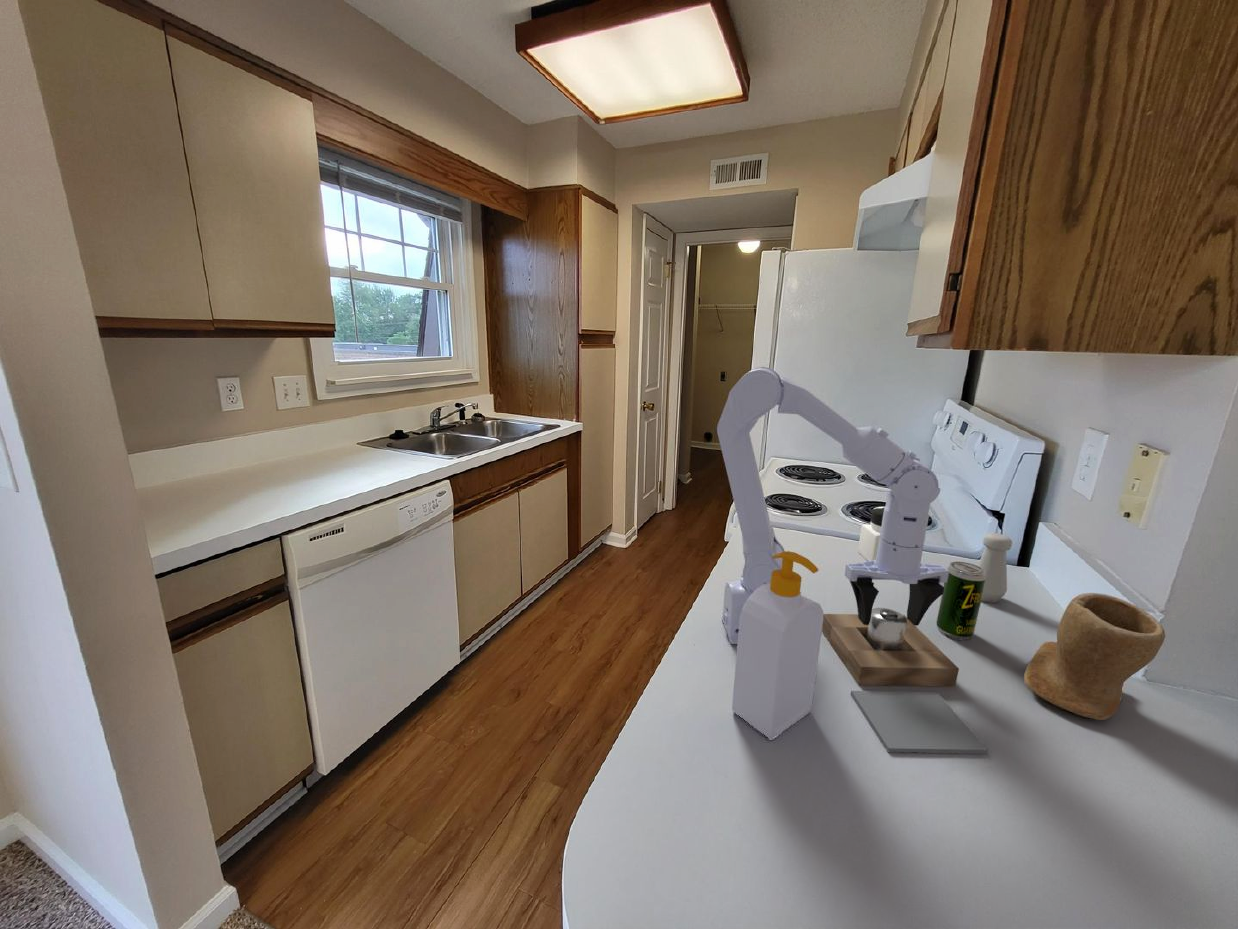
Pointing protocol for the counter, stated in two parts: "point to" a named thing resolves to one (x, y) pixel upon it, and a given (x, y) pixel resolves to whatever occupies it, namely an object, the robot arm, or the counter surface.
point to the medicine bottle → (871, 535)
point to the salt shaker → (995, 566)
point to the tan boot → (1094, 655)
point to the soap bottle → (777, 651)
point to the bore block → (888, 655)
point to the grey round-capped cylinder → (886, 630)
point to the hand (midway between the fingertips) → (888, 621)
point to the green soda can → (961, 600)
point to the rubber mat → (916, 723)
